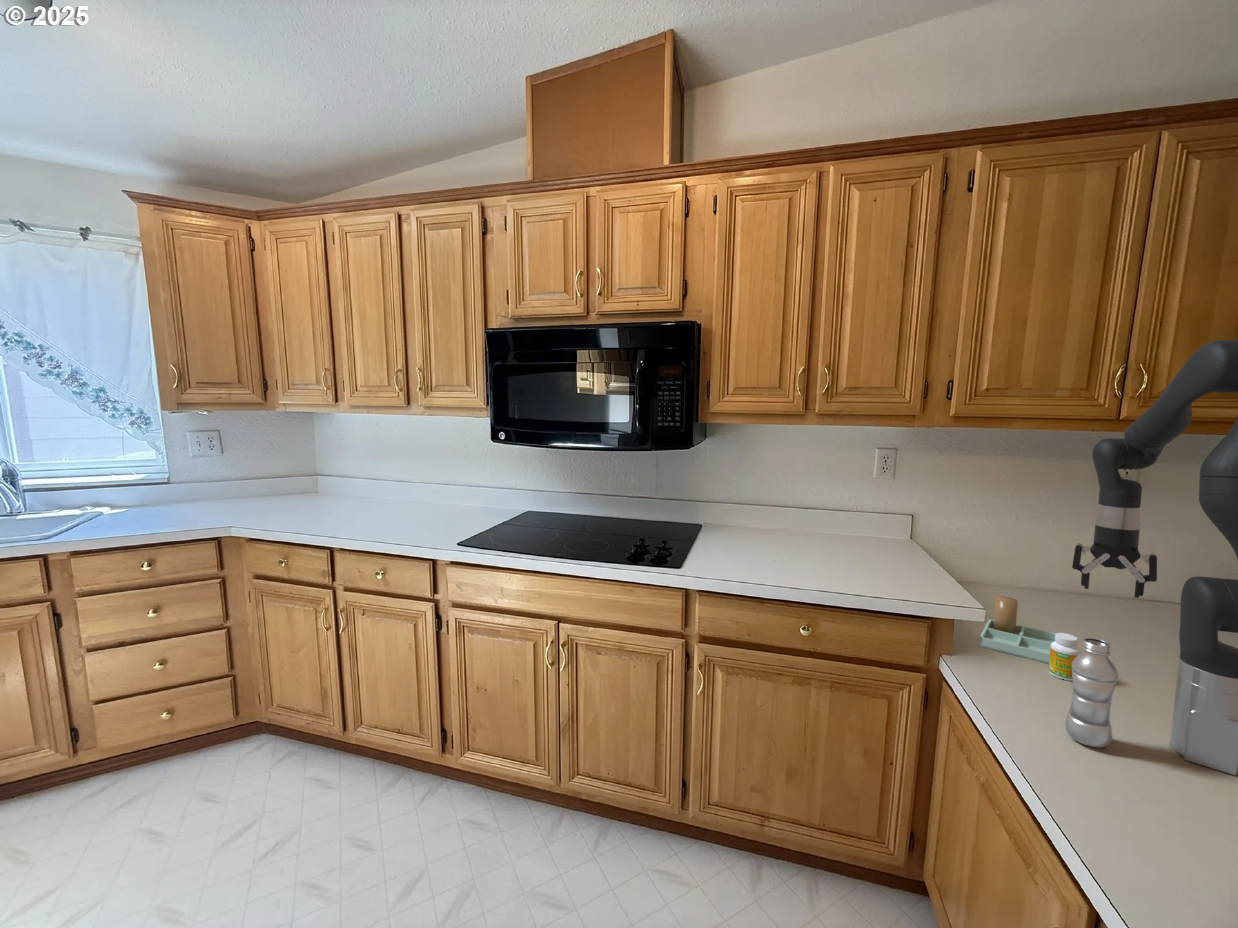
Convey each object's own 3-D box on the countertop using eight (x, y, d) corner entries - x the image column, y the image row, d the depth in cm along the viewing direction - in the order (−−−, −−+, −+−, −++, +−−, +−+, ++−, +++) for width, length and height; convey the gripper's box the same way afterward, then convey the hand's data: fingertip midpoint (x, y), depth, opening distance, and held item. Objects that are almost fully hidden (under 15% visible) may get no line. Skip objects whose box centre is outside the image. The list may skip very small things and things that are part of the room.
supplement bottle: (1051, 678, 122) (1054, 638, 121) (1045, 667, 127) (1048, 629, 126) (1081, 683, 120) (1085, 643, 119) (1074, 672, 124) (1077, 633, 123)
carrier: (1055, 665, 128) (1056, 656, 127) (978, 646, 138) (979, 637, 138) (1060, 643, 139) (1061, 634, 139) (988, 626, 150) (989, 618, 150)
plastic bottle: (1063, 726, 104) (1071, 631, 102) (1109, 739, 100) (1119, 640, 98) (1064, 743, 99) (1073, 643, 97) (1113, 757, 95) (1123, 653, 93)
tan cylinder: (1014, 639, 141) (1016, 604, 140) (992, 634, 144) (994, 599, 143) (1016, 633, 144) (1018, 599, 143) (995, 628, 147) (997, 594, 146)
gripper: (1074, 522, 123) (1069, 589, 124) (1162, 532, 113) (1154, 604, 114) (1077, 517, 128) (1072, 581, 130) (1161, 526, 118) (1154, 595, 120)
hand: (1111, 592), depth 122 cm, fingers open, 8 cm apart
